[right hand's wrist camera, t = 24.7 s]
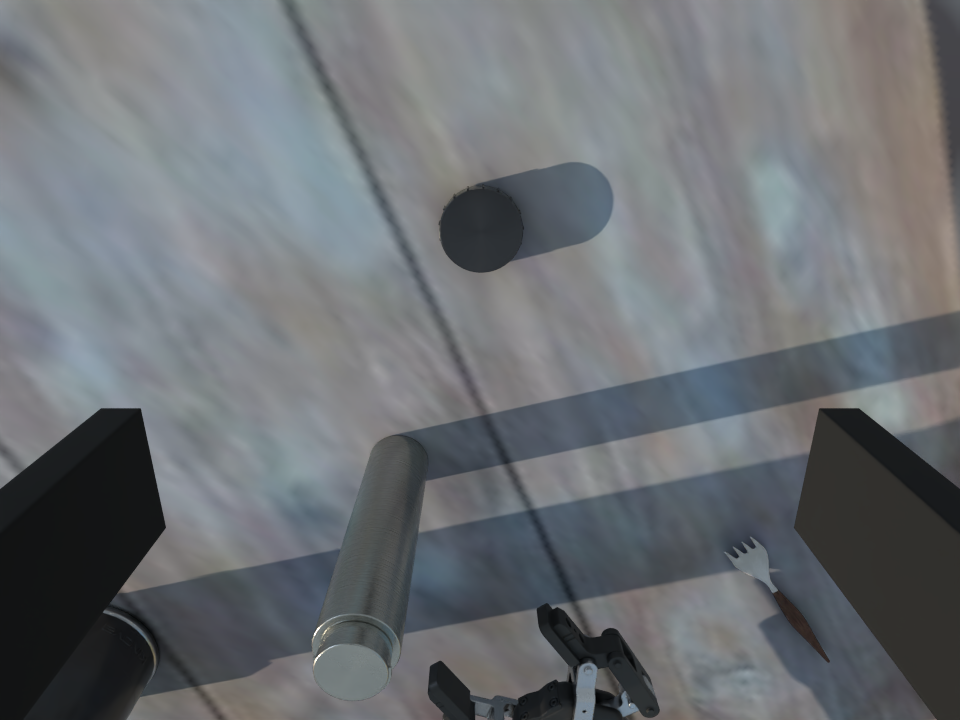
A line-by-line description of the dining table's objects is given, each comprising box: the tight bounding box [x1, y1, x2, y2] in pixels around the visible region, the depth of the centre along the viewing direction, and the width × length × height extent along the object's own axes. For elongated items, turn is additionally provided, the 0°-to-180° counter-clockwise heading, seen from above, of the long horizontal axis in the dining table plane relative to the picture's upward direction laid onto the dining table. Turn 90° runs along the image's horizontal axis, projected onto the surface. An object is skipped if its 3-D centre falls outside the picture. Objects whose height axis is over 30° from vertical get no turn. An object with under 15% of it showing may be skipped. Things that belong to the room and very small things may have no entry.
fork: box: [724, 536, 830, 663], centre depth 50 cm, size 3×16×2 cm, turn 38°
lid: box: [439, 184, 524, 272], centre depth 40 cm, size 5×5×2 cm
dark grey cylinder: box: [312, 436, 428, 701], centre depth 38 cm, size 4×4×19 cm
